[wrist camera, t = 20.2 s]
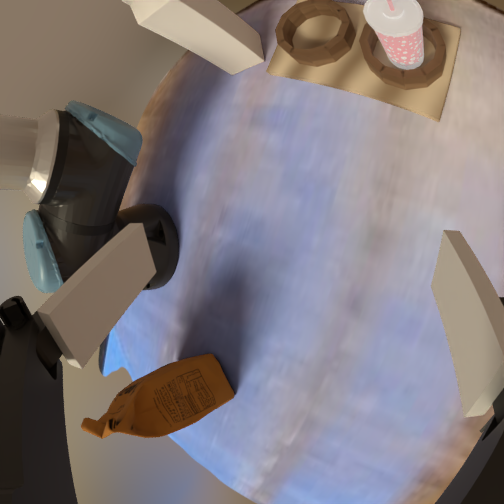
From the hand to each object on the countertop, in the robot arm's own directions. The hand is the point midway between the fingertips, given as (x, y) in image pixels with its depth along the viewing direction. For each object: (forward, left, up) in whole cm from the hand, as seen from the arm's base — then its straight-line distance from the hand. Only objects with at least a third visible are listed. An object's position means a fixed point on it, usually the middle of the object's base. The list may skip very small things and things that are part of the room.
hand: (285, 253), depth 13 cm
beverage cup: (-4, +23, -23) cm, 33 cm away
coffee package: (-14, -32, -24) cm, 43 cm away
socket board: (-11, +23, -24) cm, 35 cm away
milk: (-28, +19, -24) cm, 42 cm away
